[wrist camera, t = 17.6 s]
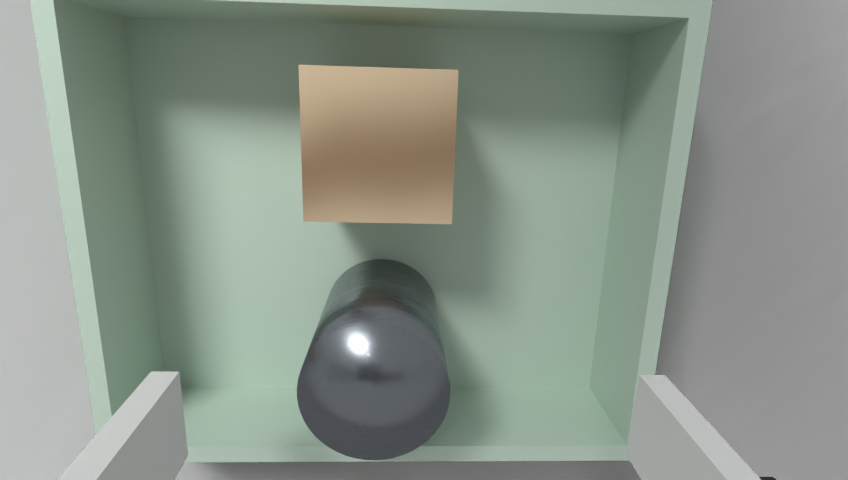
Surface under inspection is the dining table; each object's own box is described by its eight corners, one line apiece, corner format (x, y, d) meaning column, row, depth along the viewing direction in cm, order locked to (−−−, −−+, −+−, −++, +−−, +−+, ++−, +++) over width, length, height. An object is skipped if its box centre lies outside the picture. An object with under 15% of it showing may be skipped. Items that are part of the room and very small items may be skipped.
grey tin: (323, 259, 23) (291, 325, 16) (436, 258, 23) (451, 321, 17) (329, 362, 25) (301, 462, 18) (436, 360, 25) (449, 457, 18)
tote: (112, -2, 21) (24, -32, 16) (644, 18, 22) (713, -5, 17) (157, 393, 25) (99, 462, 20) (597, 394, 26) (641, 460, 21)
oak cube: (321, 72, 21) (298, 64, 16) (445, 76, 21) (458, 69, 17) (324, 195, 22) (303, 221, 18) (441, 197, 23) (451, 224, 18)
